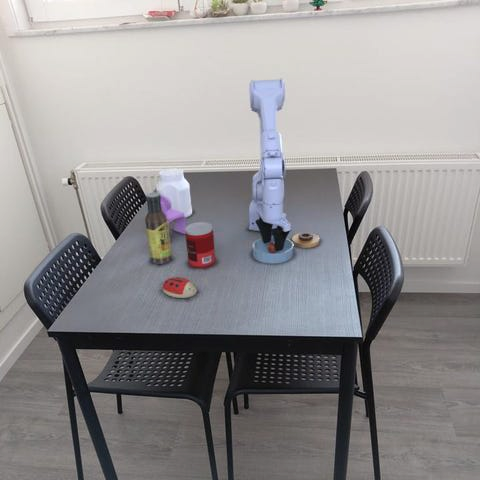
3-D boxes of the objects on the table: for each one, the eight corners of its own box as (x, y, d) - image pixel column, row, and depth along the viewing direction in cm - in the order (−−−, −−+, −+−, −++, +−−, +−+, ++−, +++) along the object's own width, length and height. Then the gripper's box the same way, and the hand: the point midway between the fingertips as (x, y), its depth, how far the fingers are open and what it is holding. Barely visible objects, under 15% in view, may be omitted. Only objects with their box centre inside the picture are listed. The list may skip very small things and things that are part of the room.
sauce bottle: (167, 266, 139) (157, 199, 127) (147, 264, 140) (136, 198, 129) (176, 256, 144) (167, 191, 132) (157, 254, 145) (147, 190, 134)
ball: (265, 254, 141) (265, 244, 139) (270, 249, 144) (270, 239, 142) (275, 255, 140) (275, 245, 138) (280, 251, 142) (280, 241, 141)
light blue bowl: (246, 259, 140) (245, 250, 138) (262, 243, 149) (262, 234, 147) (284, 266, 135) (284, 256, 134) (299, 249, 144) (299, 240, 142)
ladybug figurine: (190, 302, 122) (189, 289, 120) (156, 296, 125) (154, 284, 123) (201, 289, 127) (200, 277, 125) (169, 283, 130) (167, 272, 128)
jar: (157, 218, 169) (150, 176, 161) (163, 208, 177) (158, 167, 169) (189, 218, 168) (184, 176, 159) (194, 208, 176) (190, 167, 167)
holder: (287, 245, 147) (287, 238, 145) (297, 234, 153) (297, 228, 152) (314, 249, 143) (314, 242, 142) (322, 238, 150) (323, 231, 148)
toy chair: (190, 234, 156) (185, 189, 148) (169, 243, 151) (163, 197, 143) (173, 228, 161) (167, 184, 153) (152, 237, 156) (145, 191, 148)
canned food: (219, 258, 141) (216, 223, 135) (209, 270, 135) (206, 234, 129) (195, 255, 144) (192, 220, 138) (184, 267, 137) (180, 231, 131)
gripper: (300, 205, 129) (298, 251, 137) (270, 191, 140) (270, 234, 147) (278, 211, 127) (278, 258, 134) (249, 196, 137) (251, 240, 145)
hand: (273, 246), depth 141 cm, fingers open, 6 cm apart
